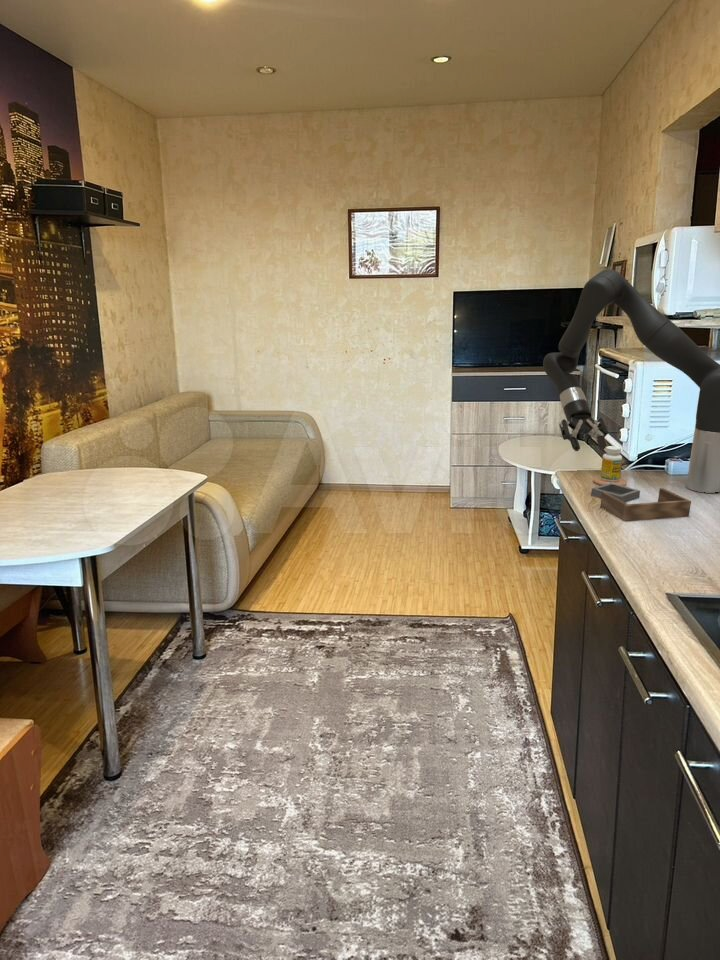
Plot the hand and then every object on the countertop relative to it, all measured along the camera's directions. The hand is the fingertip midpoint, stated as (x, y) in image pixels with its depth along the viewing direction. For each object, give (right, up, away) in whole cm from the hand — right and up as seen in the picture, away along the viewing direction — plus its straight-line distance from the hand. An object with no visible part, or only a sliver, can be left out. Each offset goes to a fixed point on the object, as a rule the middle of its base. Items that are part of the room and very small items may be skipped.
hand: (590, 449), depth 206 cm
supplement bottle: (+3, -9, -9) cm, 13 cm away
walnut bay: (+2, -17, -32) cm, 36 cm away
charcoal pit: (0, -14, -21) cm, 25 cm away
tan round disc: (+3, -10, -9) cm, 14 cm away
